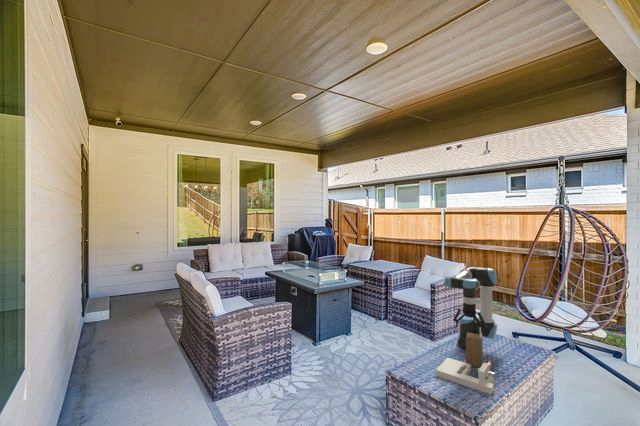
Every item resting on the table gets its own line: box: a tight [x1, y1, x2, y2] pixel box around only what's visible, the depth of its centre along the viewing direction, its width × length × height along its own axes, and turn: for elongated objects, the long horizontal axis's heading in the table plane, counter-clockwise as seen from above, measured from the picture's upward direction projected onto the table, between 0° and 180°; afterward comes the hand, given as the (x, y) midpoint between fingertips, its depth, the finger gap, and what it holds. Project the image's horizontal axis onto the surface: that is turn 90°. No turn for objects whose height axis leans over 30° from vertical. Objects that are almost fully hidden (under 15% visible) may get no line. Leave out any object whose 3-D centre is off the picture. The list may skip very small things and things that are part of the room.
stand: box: [435, 357, 495, 396], centre depth 203 cm, size 22×33×12 cm, turn 49°
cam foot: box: [477, 359, 495, 384], centre depth 201 cm, size 18×10×9 cm, turn 139°
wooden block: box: [465, 332, 484, 368], centre depth 221 cm, size 10×10×20 cm
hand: (469, 334), depth 204 cm, fingers open, 13 cm apart
